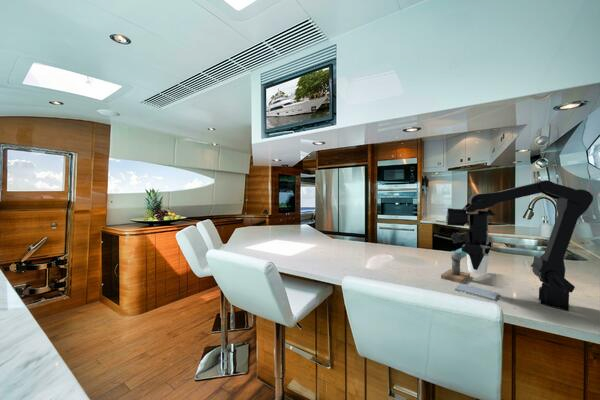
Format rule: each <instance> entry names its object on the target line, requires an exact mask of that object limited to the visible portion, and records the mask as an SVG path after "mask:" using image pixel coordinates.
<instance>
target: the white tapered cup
mask: <svg viewBox="0 0 600 400" xmlns="http://www.w3.org/2000/svg"><path fill="white" fill-rule="evenodd" d="M489 258H490V255H489V254H486V253H485V255H484V257H483V259H482V261H481V263H480V265H479V267H478V269H477V270H474V269H473V266H472V262H471V259H470V256H469V255H468V254H467V256H466V262H467V270H468V272H469V273H472V274H478V275H487V273H488V265H489V261H490V260H489Z"/></svg>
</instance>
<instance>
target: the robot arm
mask: <svg viewBox="0 0 600 400" xmlns="http://www.w3.org/2000/svg"><path fill="white" fill-rule="evenodd" d="M536 194H537V195H538V194H543V195H545V196H547V197H549V198H551V199H553V200H556V201H555V203H556V204H555V208H556V212H557V215H556V217H555V221H554V224H553V228H552V230H551V233H550V236H549V239H548V241H547V243H546V247H545V249H544V250H545V251H544V252H543V254H542V255H541V256H540V257H538V256H536V255H535V256H534V257H533V262H532V264H531V265H530V267H532V269H531V270H532V273H533V274H534V275H535V276H537V278H538V279H539V281H540V283H541V282H542V283H541V286H539V288H538V300H539V303H540V304H541V305H544V306H549V307H553V308H557V309H561V310H564V311H570V293H573V292H574V290H575V289H576V287H575V285H573V284H572V283H571V282H570V281H569V280H567V279H566V278H565V277H566V266H565V256H566V254H567V251H568V248H569V245H570V242H571V240H572V237H573V233H574V230H575V228H576V226H577V223H578V220H579V219H580V217H581V216H583V214H584V213H586V212H587V211H588V209H589V208H590V206H591V205H592V203H593V201H594V194H592V193H591V192H590V191H588V190H586V189H582V188H581V189H579V188H576V189H575V188H572V187H570V186H565V185H561V184H558V183H555V182H553V181H550V180H545V179H544V180H537V181H536V182H532V183H528V184H524V185H521V186H516V187H512V188H507V189H504V190H500V191H495V192H494V191H493V192H492V191H491V192H484V193H482V192H481V193H474V194H472V195H471V196H470V197H469V198H468V202H467V204H466V205H464V206H463V208H452V207H451V208H450V207H448V208H447V212H446V216H445V217H446V218H445V223H446V226H451V227H452V226H456V227H464V226H465V225H468V229H466V232H463V233H462V232H461V233H460V232H452V235H451V236H450V237H451V238H450V239H451V240H450V241H452V242H453V244H458V243H463V242H465V243H463V245H461V248H462V251H464V252H465V253H467V254H468V255H469V256H470V259H471V262H472V266H473V269H474V270H477V269H478V267H479V265H480V263H481V261H482V259H483V257H484V255H485V253H486V254H488V255H489V254H490V253H491V250H492V248H494V241H493V240H492V239H490V238H489V234H490V229H489V216H493V217H495V216H497V214H496V213H495V212H493V211H492V210H491V208H492V207H493V206H496V205H497V204H500V203H502V202H503V203H504V202H506V201H507V202H508V201H510V200H515V199H519V198H524V197H528V196H532V195H536ZM490 207H491V208H490ZM485 209H486V210H485ZM468 222H469V223H468Z"/></svg>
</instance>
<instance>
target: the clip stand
mask: <svg viewBox="0 0 600 400" xmlns="http://www.w3.org/2000/svg"><path fill="white" fill-rule="evenodd" d="M470 277H471V272H469V273H468V272H465V271H461V260H460V261H458V260H453V259H451V268H450V269H448V270H446V271H444V272H443V273H441V275H440V279H443V280H446V281H450V282H456V283H459V284H461V283H462V284H464V283H465V282H466V281H467V280H468V279H470Z"/></svg>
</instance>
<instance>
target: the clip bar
mask: <svg viewBox="0 0 600 400" xmlns="http://www.w3.org/2000/svg"><path fill="white" fill-rule="evenodd" d="M450 254H451V256H450V257H451V260H452V259H453V260H458V261H460V262H461V261H462V259H464V258H465V257H467V253H465V252H464V251H462V247H460V248H458V249H456V250H451V253H450Z"/></svg>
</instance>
